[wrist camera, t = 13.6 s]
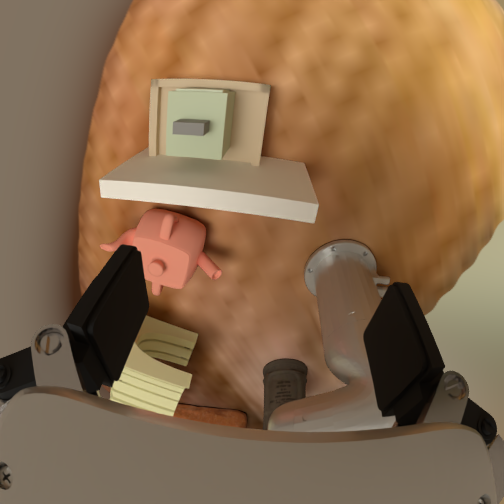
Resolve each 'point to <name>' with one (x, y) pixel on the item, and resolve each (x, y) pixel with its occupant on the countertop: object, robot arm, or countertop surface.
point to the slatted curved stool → (155, 368)
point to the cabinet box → (199, 122)
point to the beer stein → (282, 384)
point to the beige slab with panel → (216, 163)
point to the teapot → (168, 248)
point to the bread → (211, 415)
